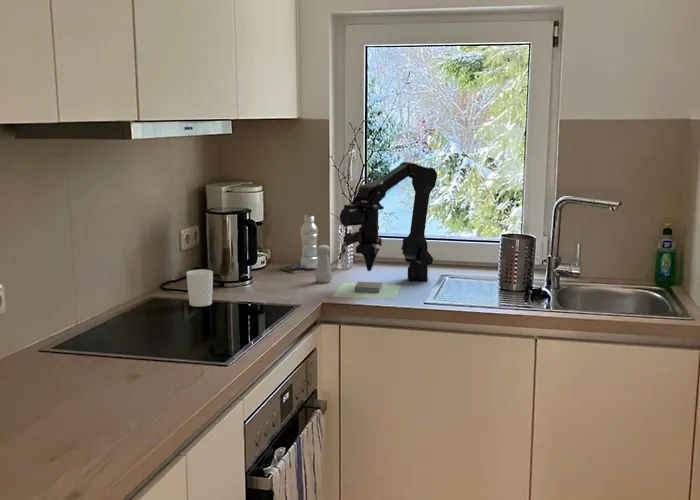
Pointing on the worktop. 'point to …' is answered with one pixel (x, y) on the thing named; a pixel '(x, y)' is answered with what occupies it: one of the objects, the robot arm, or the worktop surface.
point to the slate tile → (368, 287)
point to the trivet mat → (384, 293)
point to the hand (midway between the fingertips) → (369, 270)
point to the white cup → (200, 287)
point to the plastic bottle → (309, 243)
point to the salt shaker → (323, 265)
